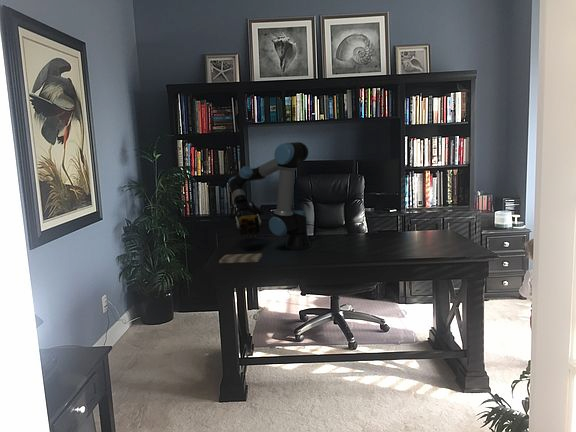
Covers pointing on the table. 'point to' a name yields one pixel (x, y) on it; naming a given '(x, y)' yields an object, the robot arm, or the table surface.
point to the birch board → (240, 258)
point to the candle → (248, 225)
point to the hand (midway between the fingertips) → (249, 225)
